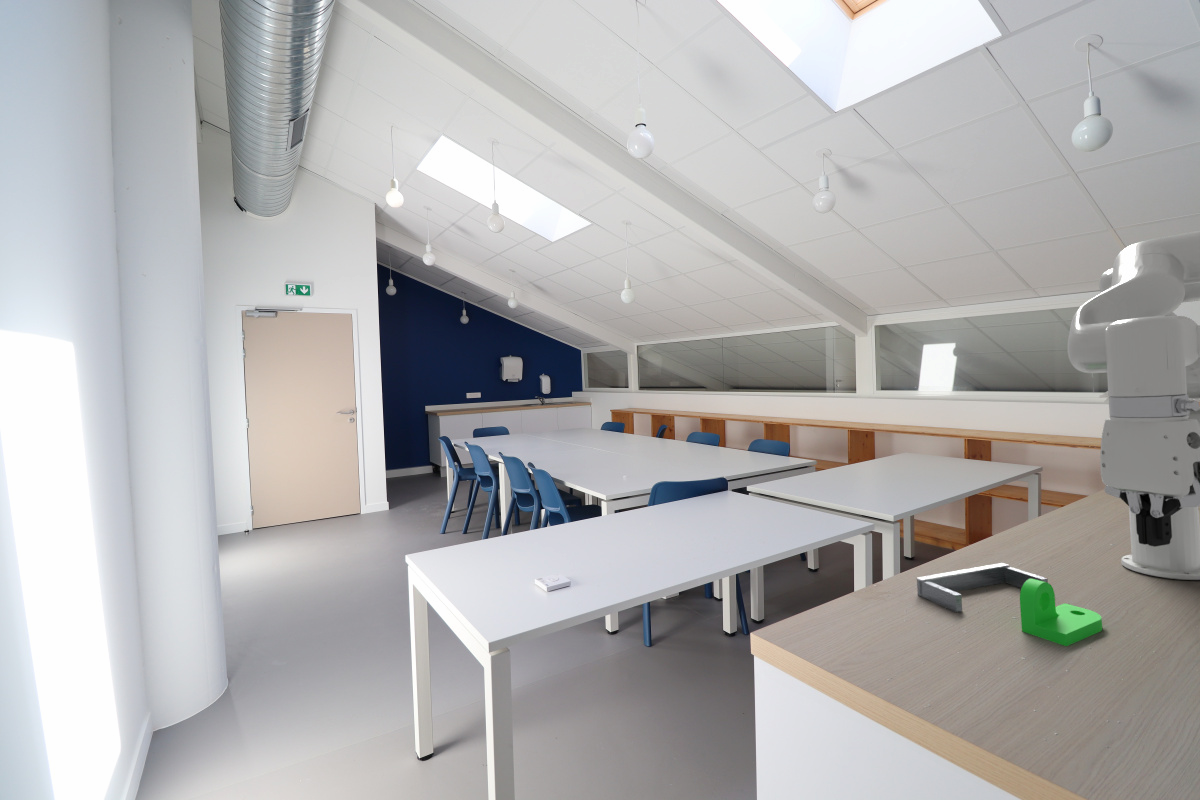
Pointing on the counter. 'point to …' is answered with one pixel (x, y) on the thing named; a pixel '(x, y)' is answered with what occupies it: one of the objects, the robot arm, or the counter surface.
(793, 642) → the counter surface
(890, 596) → the counter surface
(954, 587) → the steel bracket
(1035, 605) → the mechanical part
